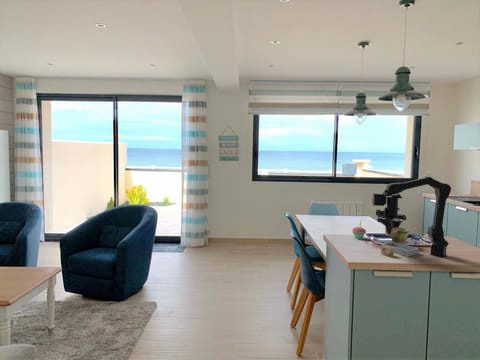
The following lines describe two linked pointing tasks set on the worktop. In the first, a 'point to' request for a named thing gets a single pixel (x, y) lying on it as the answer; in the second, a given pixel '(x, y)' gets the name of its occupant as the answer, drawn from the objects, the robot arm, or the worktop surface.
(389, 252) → the block
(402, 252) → the tray
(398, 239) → the ceramic cup
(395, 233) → the block
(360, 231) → the cupcake
